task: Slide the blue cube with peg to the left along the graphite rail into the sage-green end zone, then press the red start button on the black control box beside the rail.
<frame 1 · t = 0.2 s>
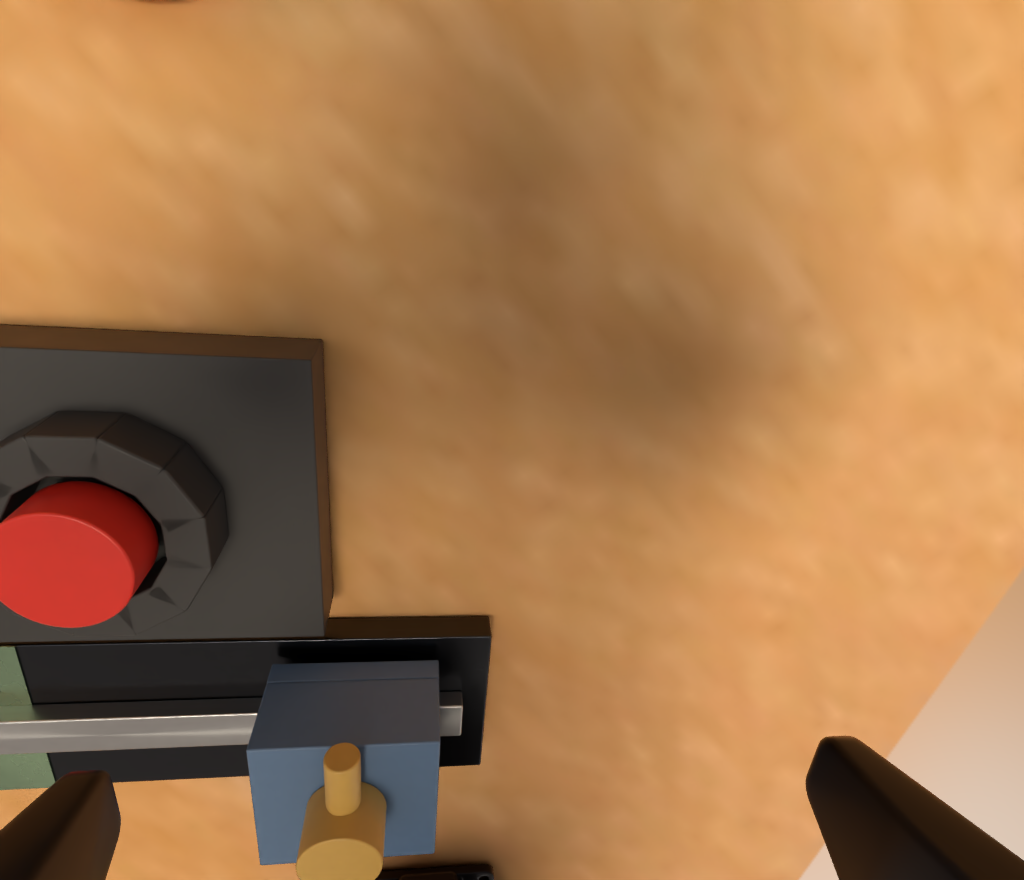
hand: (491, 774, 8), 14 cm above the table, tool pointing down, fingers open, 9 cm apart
rail: (125, 692, 25), on the table
blue cube with peg: (349, 779, 22), point 4 cm above the table, slide at 0.0 cm
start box: (142, 476, 21), on the table
start button: (75, 554, 17), point 4 cm above the table, slide at 0.1 cm
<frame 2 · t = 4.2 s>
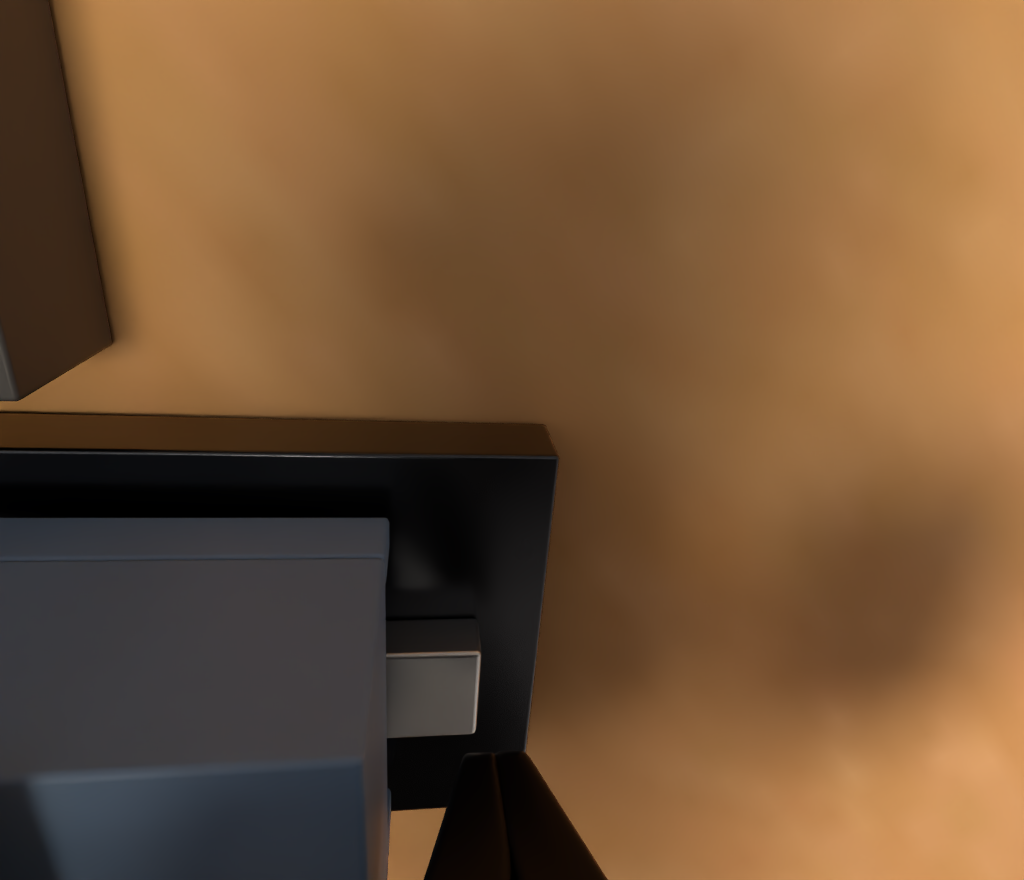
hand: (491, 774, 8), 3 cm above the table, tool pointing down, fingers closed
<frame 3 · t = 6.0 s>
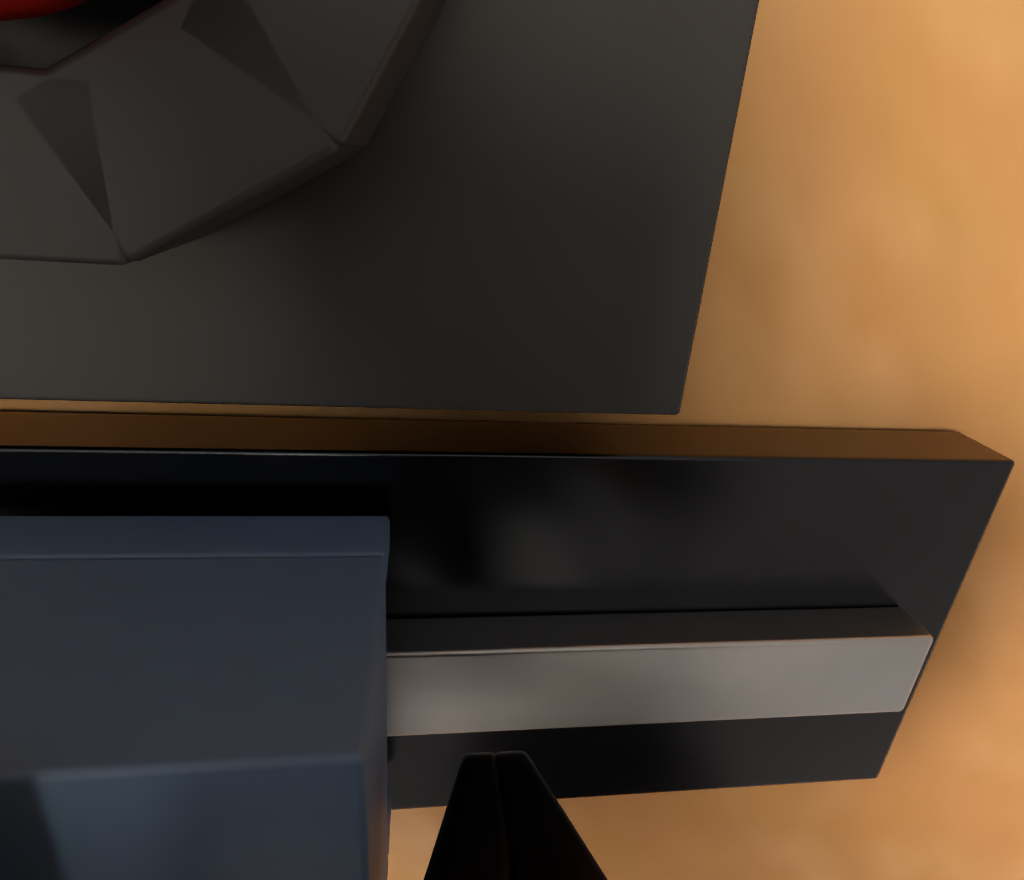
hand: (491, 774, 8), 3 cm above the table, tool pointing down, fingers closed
rail: (107, 613, 10), on the table
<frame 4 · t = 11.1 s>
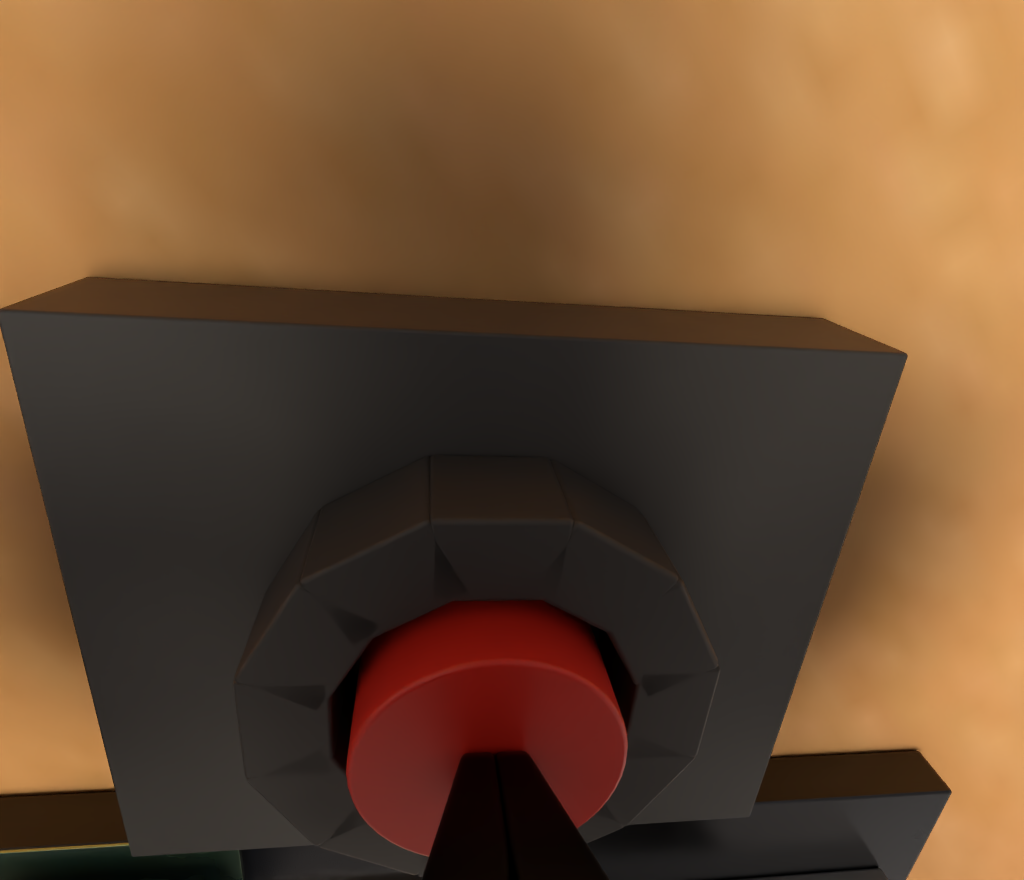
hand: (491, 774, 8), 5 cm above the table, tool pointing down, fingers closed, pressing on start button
rail: (368, 875, 16), on the table
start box: (469, 556, 12), on the table
start button: (485, 716, 9), point 4 cm above the table, slide at -0.5 cm, touching gripper
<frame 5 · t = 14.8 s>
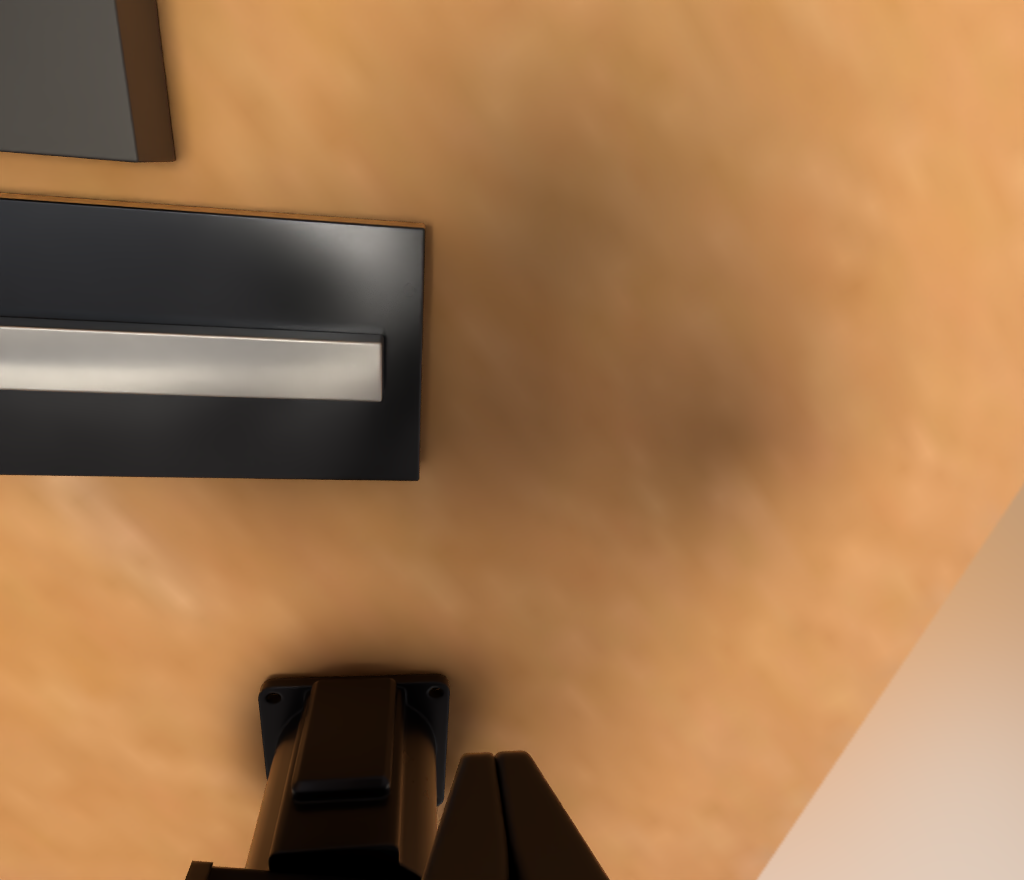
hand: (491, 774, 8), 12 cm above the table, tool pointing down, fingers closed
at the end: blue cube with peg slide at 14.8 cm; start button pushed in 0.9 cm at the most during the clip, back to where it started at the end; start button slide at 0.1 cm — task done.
